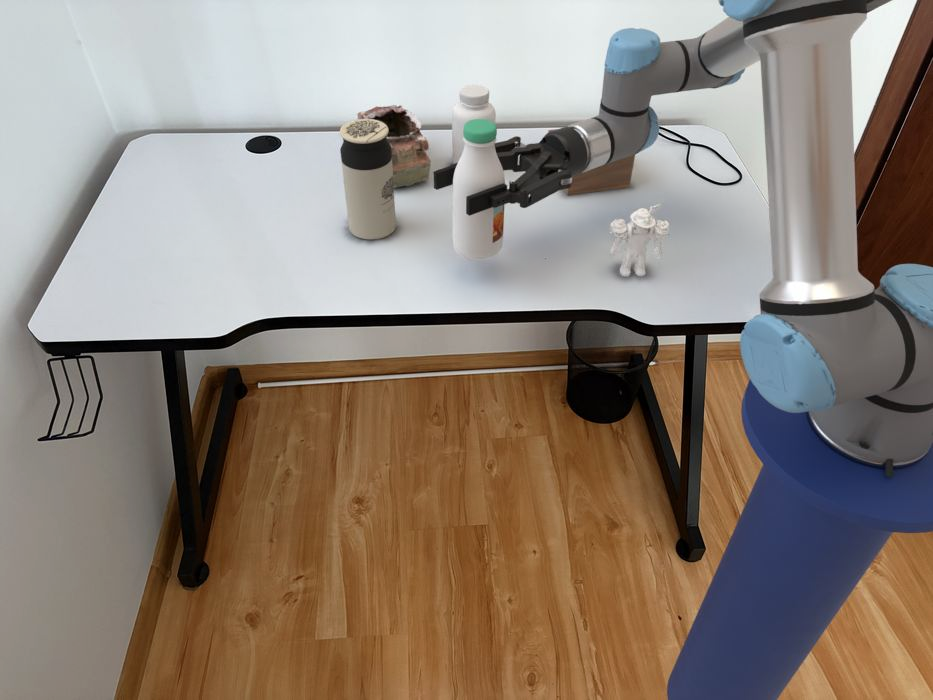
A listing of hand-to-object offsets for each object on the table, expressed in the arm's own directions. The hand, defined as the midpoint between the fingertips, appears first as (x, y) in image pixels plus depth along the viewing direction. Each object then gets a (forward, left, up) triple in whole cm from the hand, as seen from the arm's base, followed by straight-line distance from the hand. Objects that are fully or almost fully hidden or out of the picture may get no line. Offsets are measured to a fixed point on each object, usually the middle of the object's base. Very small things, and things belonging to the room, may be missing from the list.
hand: (451, 193), depth 107 cm
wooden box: (+26, -33, -16) cm, 44 cm away
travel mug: (+18, +9, -16) cm, 26 cm away
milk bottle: (+2, -5, -11) cm, 12 cm away
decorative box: (+38, +3, -16) cm, 41 cm away
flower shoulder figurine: (-4, -29, -16) cm, 33 cm away
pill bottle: (+34, -13, -16) cm, 39 cm away
